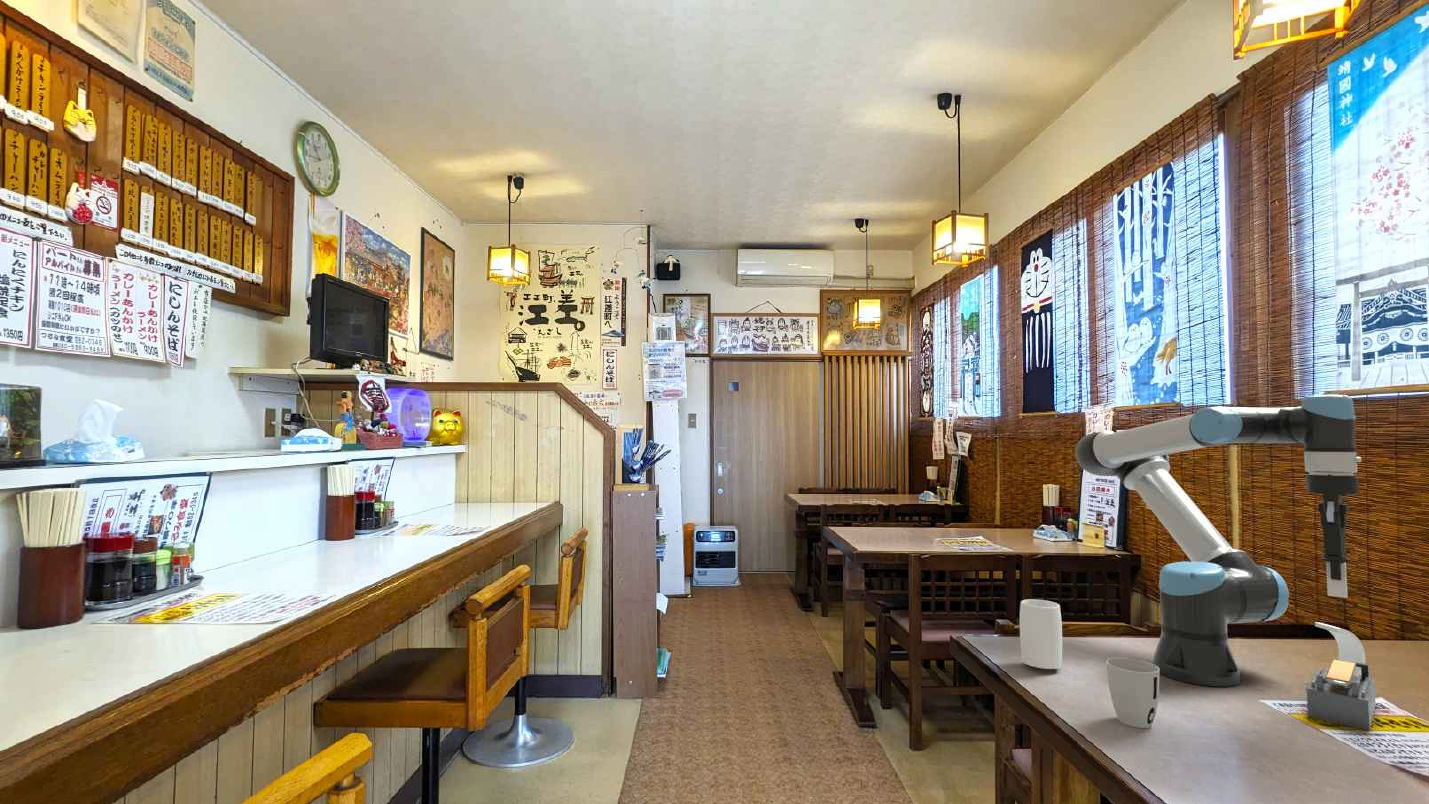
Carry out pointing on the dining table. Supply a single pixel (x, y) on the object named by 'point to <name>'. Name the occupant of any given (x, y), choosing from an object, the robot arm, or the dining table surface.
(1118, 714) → the cup
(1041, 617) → the cup
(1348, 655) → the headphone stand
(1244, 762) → the dining table surface
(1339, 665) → the tan flat bar
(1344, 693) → the block
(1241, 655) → the dining table surface
